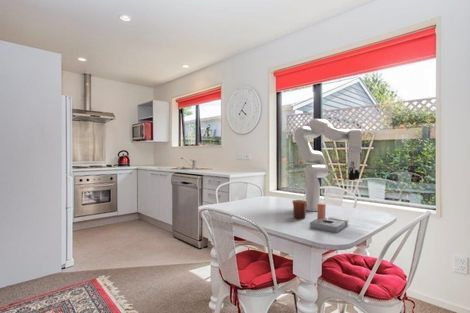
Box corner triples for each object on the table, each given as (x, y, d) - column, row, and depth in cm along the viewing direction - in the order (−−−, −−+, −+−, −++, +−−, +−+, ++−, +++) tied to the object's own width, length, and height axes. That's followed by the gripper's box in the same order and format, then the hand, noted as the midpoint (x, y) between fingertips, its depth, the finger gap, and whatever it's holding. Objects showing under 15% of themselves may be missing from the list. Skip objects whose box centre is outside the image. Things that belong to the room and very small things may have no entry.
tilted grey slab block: (328, 223, 155) (328, 217, 155) (330, 222, 157) (330, 216, 157) (346, 227, 148) (346, 220, 148) (348, 225, 151) (348, 219, 151)
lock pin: (317, 221, 160) (317, 204, 160) (319, 219, 162) (319, 203, 162) (323, 222, 158) (323, 204, 157) (325, 220, 160) (325, 203, 160)
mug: (301, 220, 161) (301, 203, 161) (289, 217, 167) (289, 201, 167) (312, 217, 169) (312, 200, 169) (299, 214, 175) (300, 198, 175)
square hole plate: (310, 227, 145) (310, 222, 145) (320, 222, 156) (320, 217, 156) (336, 232, 136) (336, 226, 136) (345, 227, 147) (345, 221, 147)
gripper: (351, 150, 170) (351, 177, 170) (343, 150, 156) (343, 180, 156) (364, 150, 165) (364, 178, 166) (358, 150, 152) (357, 181, 152)
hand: (354, 179), depth 161 cm, fingers open, 9 cm apart
